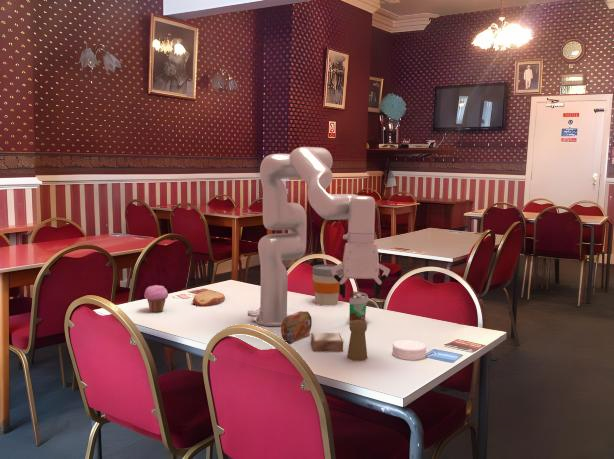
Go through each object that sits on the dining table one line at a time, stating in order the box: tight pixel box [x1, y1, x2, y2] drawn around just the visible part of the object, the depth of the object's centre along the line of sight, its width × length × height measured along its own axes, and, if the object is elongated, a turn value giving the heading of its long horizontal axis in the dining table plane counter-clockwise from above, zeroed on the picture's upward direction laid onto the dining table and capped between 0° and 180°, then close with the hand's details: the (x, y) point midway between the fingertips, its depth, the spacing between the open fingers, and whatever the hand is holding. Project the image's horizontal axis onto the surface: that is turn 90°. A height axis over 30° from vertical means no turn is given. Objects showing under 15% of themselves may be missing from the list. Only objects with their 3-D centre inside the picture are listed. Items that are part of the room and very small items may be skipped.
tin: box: [280, 310, 313, 343], centre depth 191 cm, size 15×3×8 cm, turn 148°
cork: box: [346, 320, 368, 362], centre depth 173 cm, size 6×6×11 cm
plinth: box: [310, 332, 344, 352], centre depth 183 cm, size 9×9×3 cm
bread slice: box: [192, 289, 226, 308], centre depth 242 cm, size 18×18×4 cm
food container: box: [348, 291, 369, 325], centre depth 212 cm, size 12×6×10 cm, turn 168°
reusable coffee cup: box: [311, 264, 343, 306], centre depth 241 cm, size 13×13×15 cm
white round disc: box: [392, 339, 427, 361], centre depth 177 cm, size 10×10×4 cm
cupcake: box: [144, 284, 169, 313], centre depth 223 cm, size 9×9×10 cm
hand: (359, 297), depth 172 cm, fingers open, 9 cm apart
